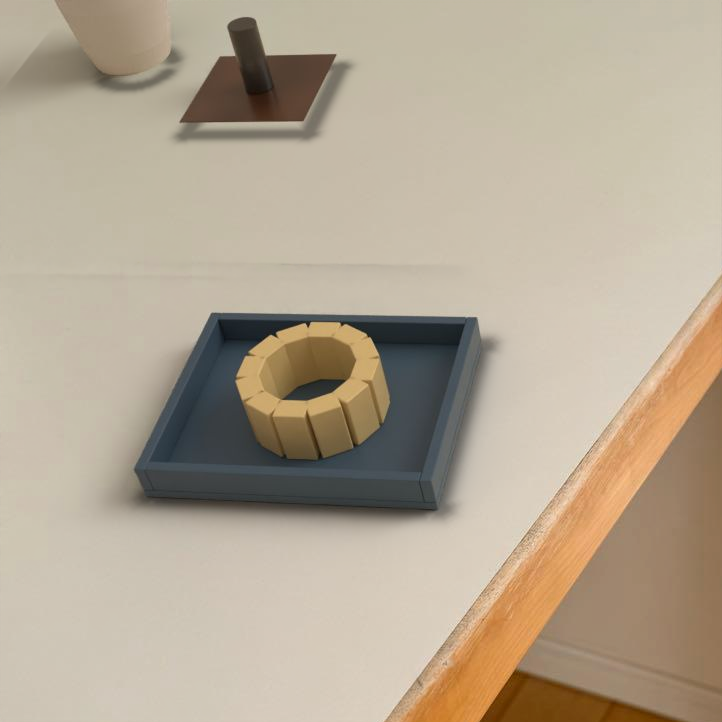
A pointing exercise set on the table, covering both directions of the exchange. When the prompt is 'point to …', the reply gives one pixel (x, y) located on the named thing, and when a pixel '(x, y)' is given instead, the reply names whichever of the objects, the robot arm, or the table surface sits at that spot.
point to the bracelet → (322, 414)
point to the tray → (325, 475)
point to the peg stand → (258, 82)
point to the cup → (120, 32)
